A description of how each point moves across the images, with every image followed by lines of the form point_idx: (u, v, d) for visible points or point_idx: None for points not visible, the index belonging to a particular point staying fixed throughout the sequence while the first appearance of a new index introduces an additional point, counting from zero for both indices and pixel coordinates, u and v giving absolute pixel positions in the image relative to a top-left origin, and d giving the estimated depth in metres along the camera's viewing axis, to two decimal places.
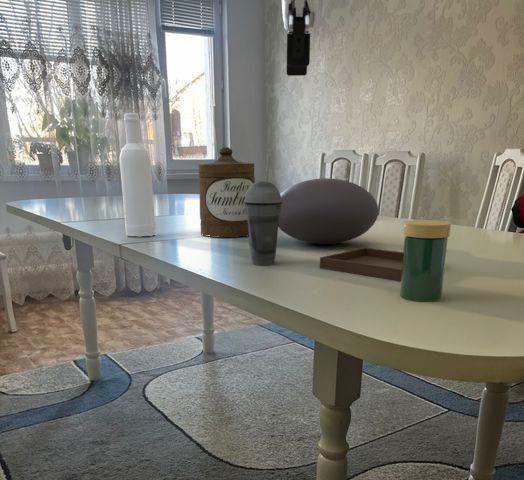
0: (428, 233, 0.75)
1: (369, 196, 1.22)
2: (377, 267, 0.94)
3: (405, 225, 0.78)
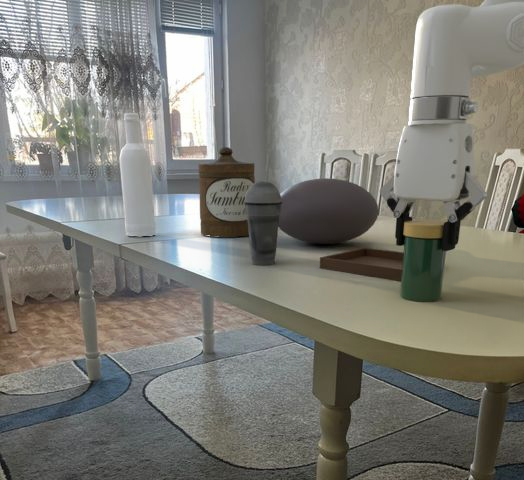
0: (428, 233, 0.75)
1: (369, 196, 1.22)
2: (377, 267, 0.94)
3: (405, 225, 0.78)
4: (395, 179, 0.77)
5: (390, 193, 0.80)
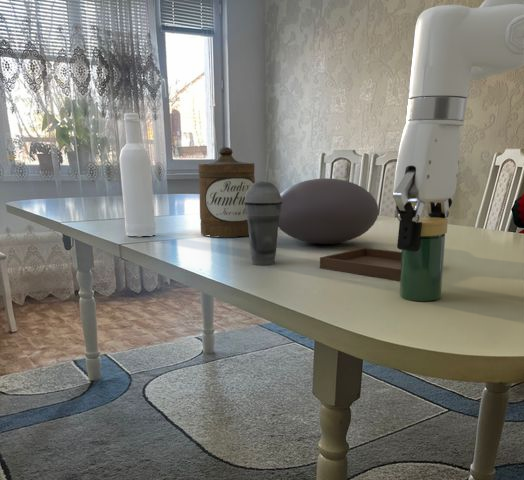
0: None
1: (369, 196, 1.22)
2: (377, 267, 0.94)
3: (431, 225, 0.75)
4: (425, 181, 0.72)
5: (407, 197, 0.72)
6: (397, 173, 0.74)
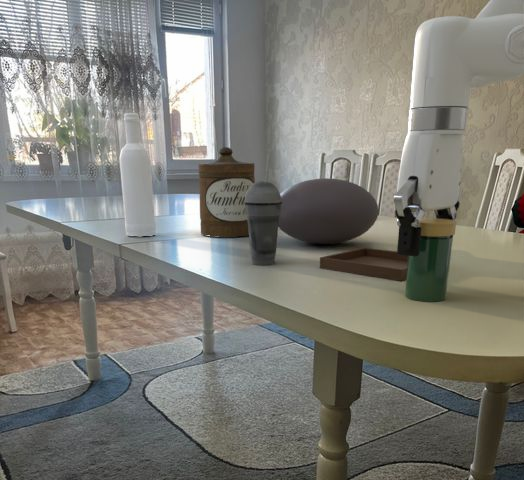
0: None
1: (369, 196, 1.22)
2: (377, 267, 0.94)
3: (439, 226, 0.75)
4: (427, 191, 0.72)
5: (407, 202, 0.72)
6: (399, 183, 0.74)
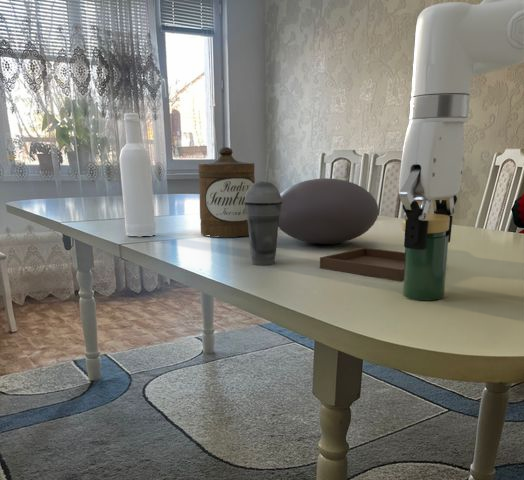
0: None
1: (369, 196, 1.22)
2: (377, 267, 0.94)
3: None
4: (430, 179, 0.72)
5: (413, 196, 0.72)
6: (401, 172, 0.74)
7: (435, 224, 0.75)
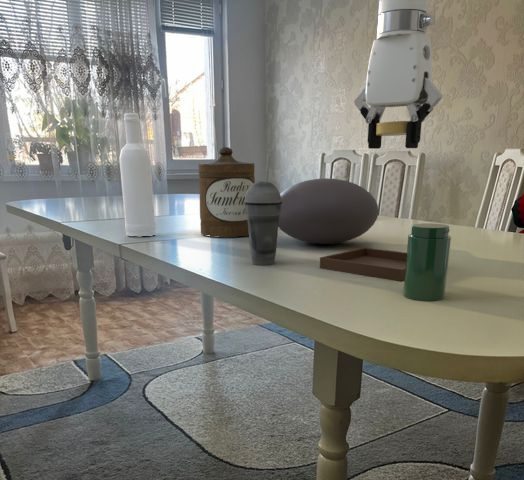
0: None
1: (369, 196, 1.22)
2: (377, 267, 0.94)
3: (401, 123, 0.89)
4: (366, 88, 0.91)
5: (363, 103, 0.94)
6: None
7: (377, 127, 0.91)
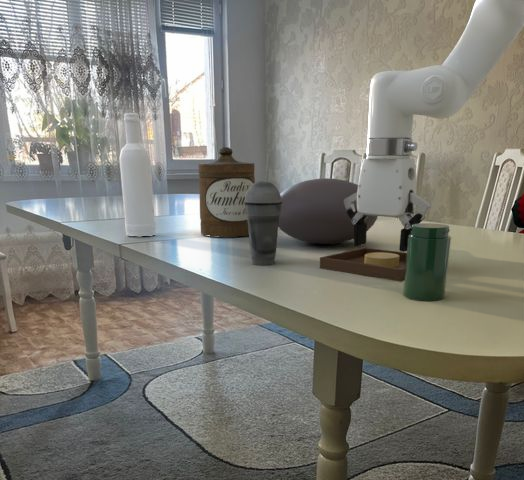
0: None
1: None
2: (377, 267, 0.94)
3: (386, 260, 0.99)
4: (357, 199, 1.00)
5: (350, 205, 1.03)
6: None
7: (365, 259, 1.02)
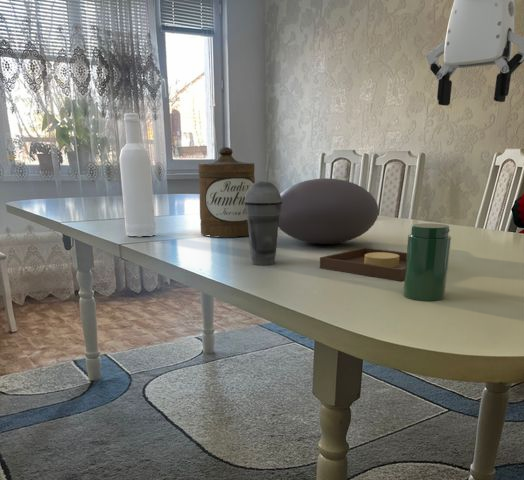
0: None
1: (369, 196, 1.22)
2: (377, 267, 0.94)
3: (386, 260, 0.99)
4: (445, 48, 0.91)
5: (435, 59, 0.94)
6: None
7: (365, 259, 1.02)
